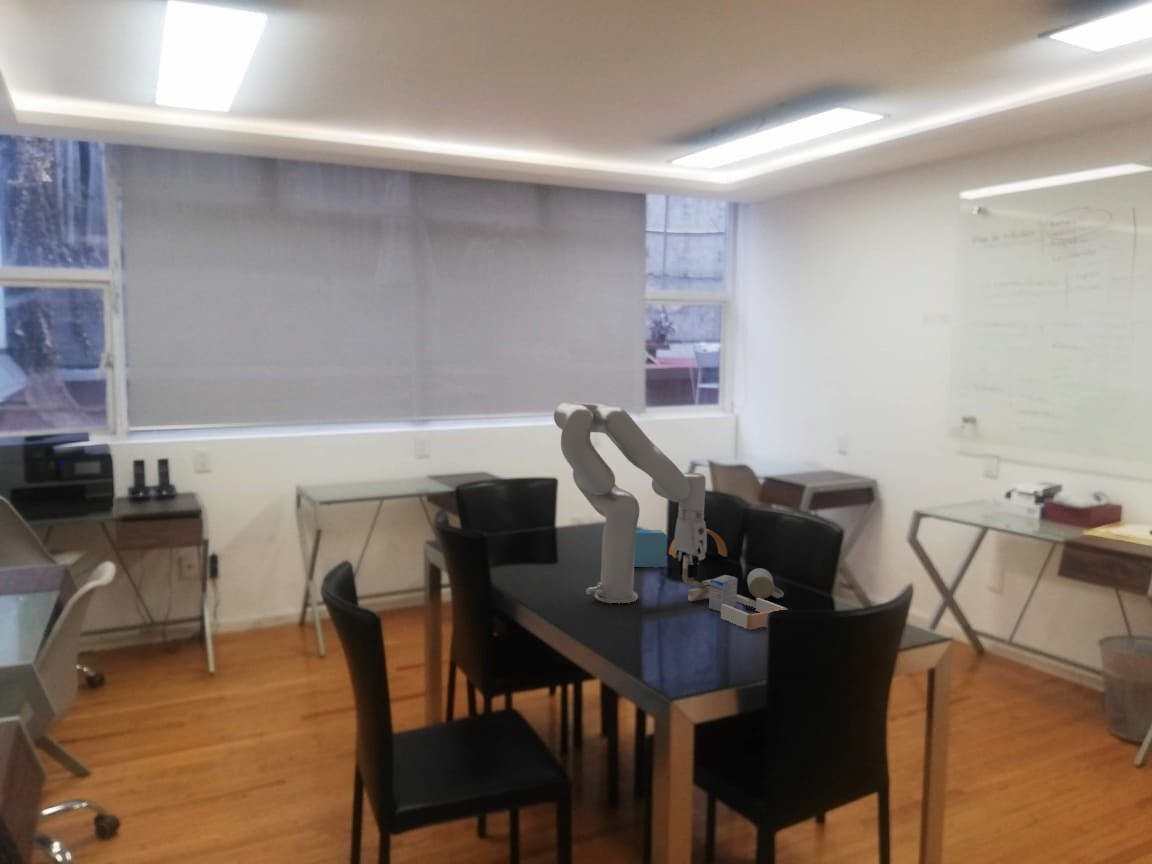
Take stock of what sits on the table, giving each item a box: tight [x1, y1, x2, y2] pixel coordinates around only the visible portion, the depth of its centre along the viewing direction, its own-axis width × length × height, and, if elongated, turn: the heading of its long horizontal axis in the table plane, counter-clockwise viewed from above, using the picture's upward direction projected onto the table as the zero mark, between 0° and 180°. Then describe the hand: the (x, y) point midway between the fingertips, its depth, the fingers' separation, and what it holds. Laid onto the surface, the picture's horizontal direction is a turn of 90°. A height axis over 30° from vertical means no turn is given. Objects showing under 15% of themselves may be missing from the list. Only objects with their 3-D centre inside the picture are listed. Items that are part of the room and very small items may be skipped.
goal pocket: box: [720, 597, 789, 629], centre depth 237 cm, size 14×11×4 cm
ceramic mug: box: [746, 567, 785, 600], centre depth 261 cm, size 11×8×8 cm
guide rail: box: [736, 593, 756, 609], centre depth 255 cm, size 2×20×2 cm, turn 33°
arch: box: [668, 528, 728, 559], centre depth 308 cm, size 6×20×10 cm, turn 106°
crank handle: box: [681, 554, 712, 602], centre depth 259 cm, size 16×11×11 cm
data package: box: [634, 529, 668, 568], centre depth 290 cm, size 12×4×12 cm, turn 97°
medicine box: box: [708, 574, 738, 613], centre depth 248 cm, size 8×4×9 cm, turn 141°
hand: (687, 574), depth 260 cm, fingers closed on crank handle, 3 cm apart
